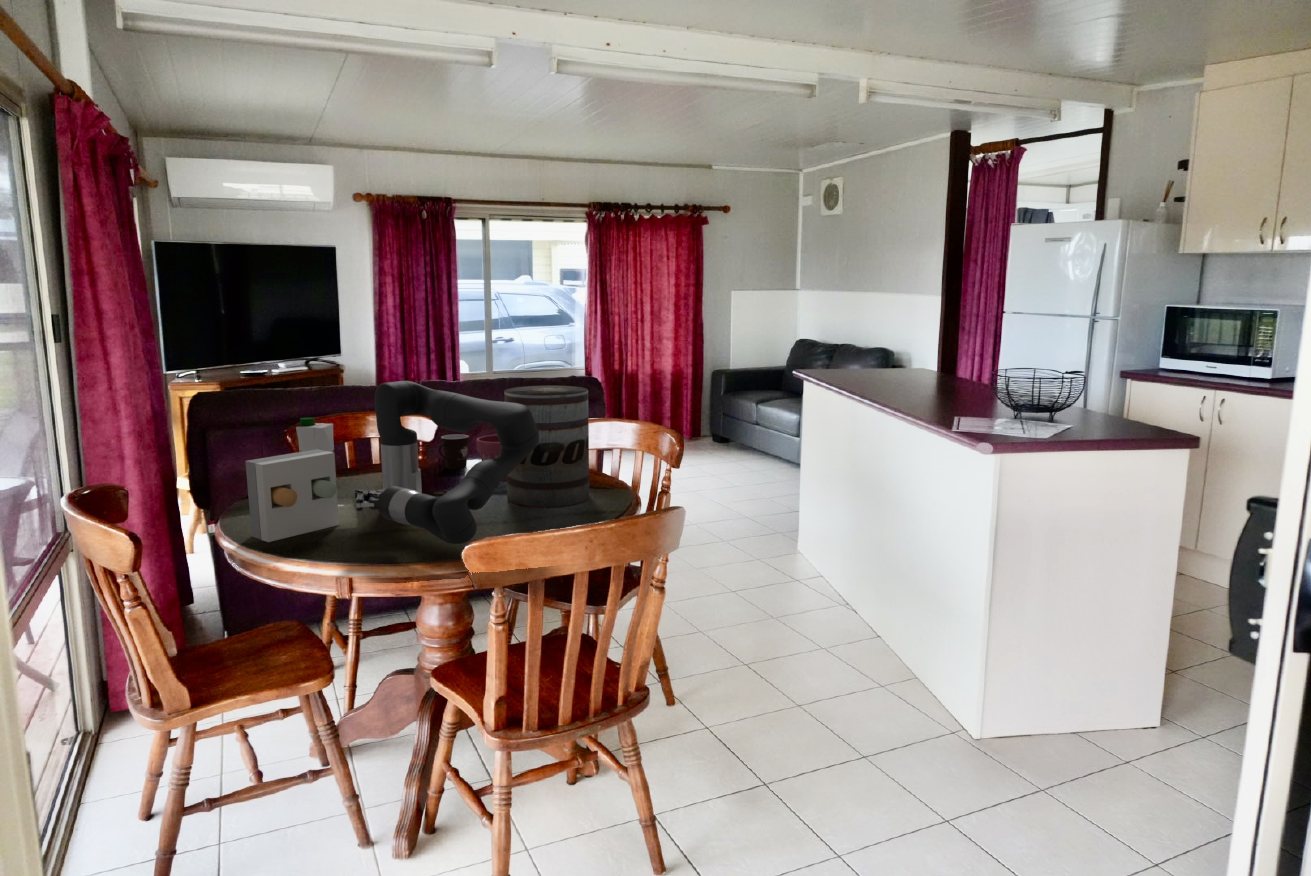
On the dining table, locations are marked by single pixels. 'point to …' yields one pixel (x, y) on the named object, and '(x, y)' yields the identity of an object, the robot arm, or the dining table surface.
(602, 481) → the dining table surface
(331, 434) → the milk carton
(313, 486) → the button sage
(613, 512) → the dining table surface
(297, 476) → the control box
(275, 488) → the button orange
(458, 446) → the coffee mug
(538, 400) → the barrel
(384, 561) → the dining table surface
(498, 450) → the plant pot
